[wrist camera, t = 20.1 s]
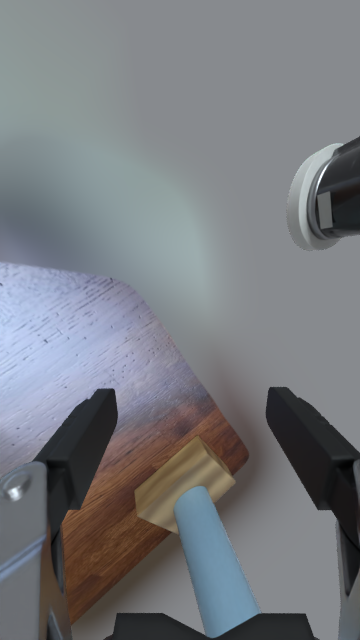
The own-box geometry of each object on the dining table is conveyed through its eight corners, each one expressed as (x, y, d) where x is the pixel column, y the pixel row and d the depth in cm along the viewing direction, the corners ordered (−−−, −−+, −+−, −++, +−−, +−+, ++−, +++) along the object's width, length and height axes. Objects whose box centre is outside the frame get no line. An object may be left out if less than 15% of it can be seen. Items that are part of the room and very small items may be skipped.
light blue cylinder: (182, 488, 25) (340, 969, 8) (213, 483, 27) (383, 837, 10) (167, 519, 25) (282, 1019, 9) (198, 511, 28) (335, 884, 11)
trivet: (134, 490, 25) (136, 516, 23) (197, 434, 27) (207, 453, 25) (174, 512, 31) (181, 535, 28) (225, 464, 32) (236, 482, 30)
